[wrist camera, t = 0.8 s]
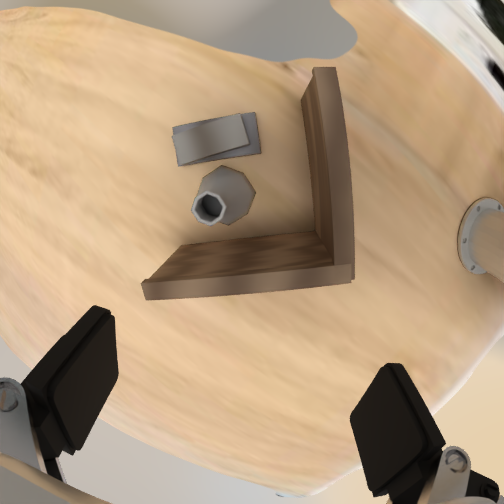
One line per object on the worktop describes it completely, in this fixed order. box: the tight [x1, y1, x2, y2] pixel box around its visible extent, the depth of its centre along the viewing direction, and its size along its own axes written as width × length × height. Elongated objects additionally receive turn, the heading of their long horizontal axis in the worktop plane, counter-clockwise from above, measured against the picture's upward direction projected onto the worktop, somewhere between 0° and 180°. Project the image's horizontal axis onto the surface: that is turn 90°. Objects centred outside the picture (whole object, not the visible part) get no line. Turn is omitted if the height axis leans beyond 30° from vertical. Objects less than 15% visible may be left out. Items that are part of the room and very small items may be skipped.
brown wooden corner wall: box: [141, 67, 355, 300], centre depth 28 cm, size 19×18×13 cm
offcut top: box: [172, 113, 250, 165], centre depth 30 cm, size 8×4×2 cm, turn 106°
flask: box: [191, 165, 256, 226], centre depth 30 cm, size 7×7×10 cm
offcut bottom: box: [173, 112, 261, 166], centre depth 32 cm, size 10×5×2 cm, turn 98°
